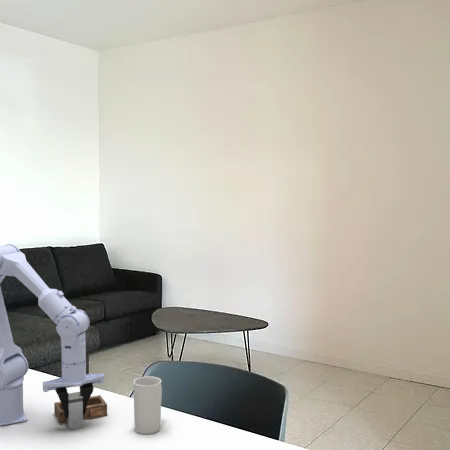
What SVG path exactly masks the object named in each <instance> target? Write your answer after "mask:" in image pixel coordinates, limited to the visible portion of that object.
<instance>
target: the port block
mask: <svg viewBox="0 0 450 450" xmlns="http://www.w3.org/2000/svg"><path fill="white" fill-rule="evenodd" d="M53 405H54V407H53V409H54V416H55V418H56V420H57V422H58V424H59V425H63V424H66V418H65V417H64V413H63V408H62V404H61V402H60V401H57V402H54V404H53ZM107 416H108V403H107V402H106V401H105V399H104V398H103V396H102V395H100V394H99V395H95V396H94V395H93V396H92V395H91V396H90V398H89V401H88V403H87V407H86V411H85V415H83V421H86V420H91V419H96V418H102V417H107Z"/></svg>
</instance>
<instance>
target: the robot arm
mask: <svg viewBox="0 0 450 450" xmlns="http://www.w3.org/2000/svg"><path fill="white" fill-rule="evenodd" d="M6 276H8V277H15V278H16V279H17V281H20V283H22V284H23V286H25V287H26V288H27V289H28V290H29V291H30V292H31V293H32V294H33V295H35V297H36V298H37V300H38V301H37V302H38V303H37V304H38V307H39V308H40V309H41V310H42V311H43V312H44V313H45V314H46V315H47V316H48V317H49V318H50V319H51V320H52V322H53V323H54V324H56V326H55V330H56V333H57V334H58V336H59V337H60V343H61V344H60V345H61V377H57V378H55V379H51V380H45V381H42V391H43V392H44V393H47V392H49V391H54V390H55V393H56V395H57V397H58V399H59V402H61V404H62V408H63V413H64V417H65V418H68V396H69V394H68V393H69V392H68V389H67V388H76V387H77V388H78V387H79V392H80V393H81V395H82V396H83V415H85V411H86V407H87V403H88V401H89V398H90V397H92V395H93V392H94V389H95V387H94V386H93V385H95V384H105V375H104V373H102V372H101V373H88V374H87V356H86V354H87V351H86V350H87V349H86V348H87V347H86V345H87V343H86V342H87V341H86V337H87V336H86V331H87V330H88V329H89V327H90V324H91V323H90V322H91V321H90V318H89V316H88V314H87V312H86V311H84V310H82V309H78V308H77V306H75V305H73V304H72V303H71V302H69V300H68V299H67V298H66V297H65V296H64V292H63V291H62V290H58V289H56V288H50V287H49V286H48V285H47V284H46V282H44V280H43V279H42V278H41V277H40V275H39V274H38V273H37V272H36V270H35V269H34V268H33V267H32V266H31V264H30V263H29V262H28V261H27V259H26V254H25V253H23V252H22V251H21V250H20V249H19V248H18V247H17V246H16V245H15V244H12V243H11V244H10V243H8V244H5V245H1V246H0V284H1V283H2V282H3V280H4V278H6ZM28 372H29V363H28V360H27V358H26V357H25V355H24V354H23V351H22V348H21V347H20V346H18V345H16V344H15V343H14V338H13V333H12V330H11V326H10V322H9V317H8V312H7V309H6V305H5V301H4V295H3V291H2V287H1V286H0V427H1V426H7V425H12V424H18V423H23V422H27V421H28V418H27V416H26V413H25V411H24V410H25V409H24V384H23V383H24V380H25V378H24V377H25V376H26V374H28Z"/></svg>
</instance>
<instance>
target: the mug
mask: <svg viewBox="0 0 450 450" xmlns="http://www.w3.org/2000/svg"><path fill="white" fill-rule="evenodd" d="M162 397H163V386H162V379H161V378H160V377H157V376H141V377H137V378H135V379H134V380H133V415H134V418H133V419H134V421H133V422H134V431H135V432H136V433H138V434H141V435H151V434H155V433H158V432H159V431H160V430H161V417H162V413H161V411H162Z"/></svg>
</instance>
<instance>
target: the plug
mask: <svg viewBox="0 0 450 450" xmlns="http://www.w3.org/2000/svg"><path fill="white" fill-rule="evenodd" d="M68 394H69V396H68V418H66V423H65V427H66V428H67V429H68V431H74V430H81V429H84V420H83V396H82V395H81V393H80V391H75V392H70V393H69V392H68Z"/></svg>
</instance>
